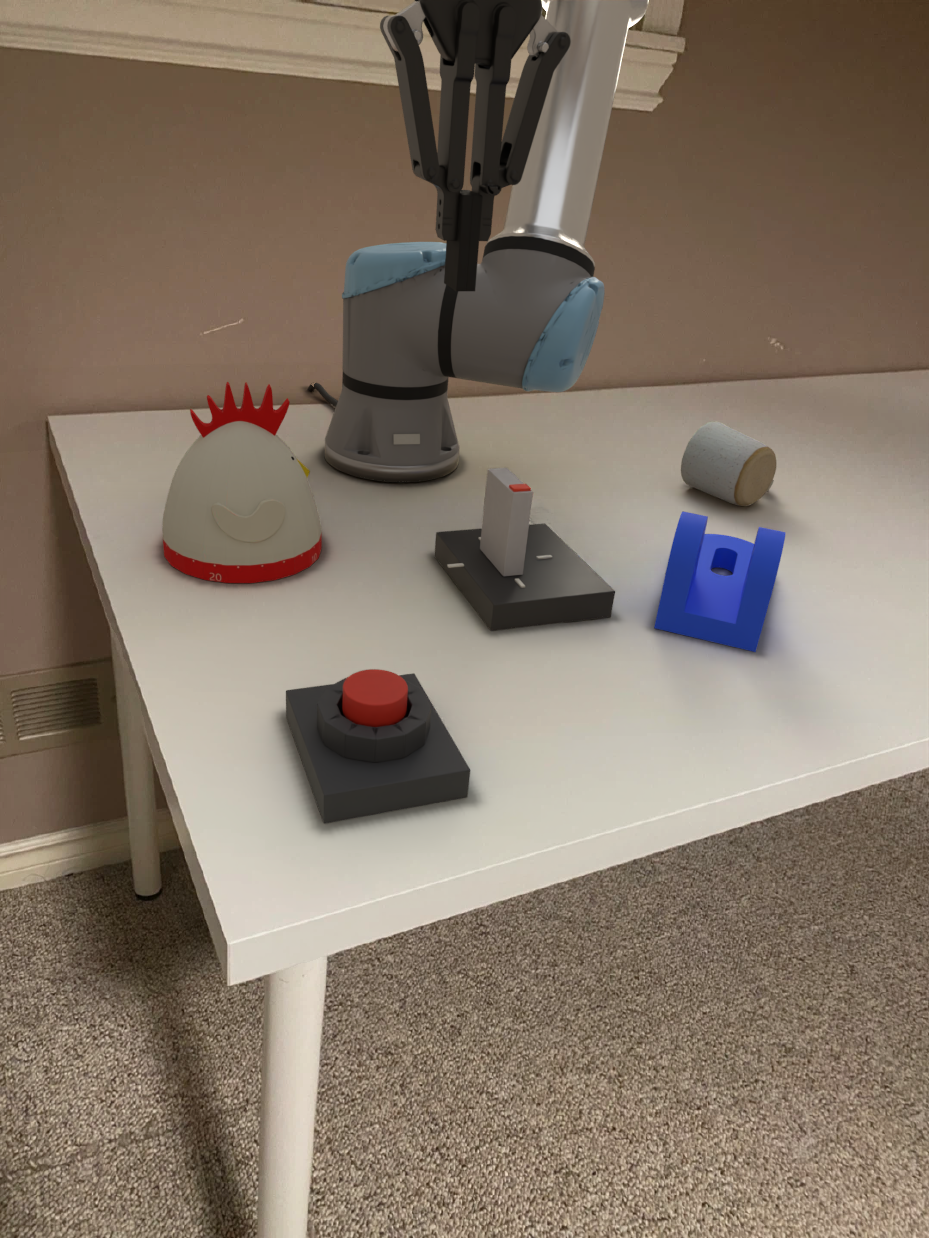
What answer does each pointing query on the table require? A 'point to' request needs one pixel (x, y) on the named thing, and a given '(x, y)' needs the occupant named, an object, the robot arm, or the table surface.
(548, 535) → the panel
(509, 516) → the grey upright block
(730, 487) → the wooden log
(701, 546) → the bracket
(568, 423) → the table surface
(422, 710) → the stop housing
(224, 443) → the kitchen timer
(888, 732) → the table surface
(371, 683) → the stop button
